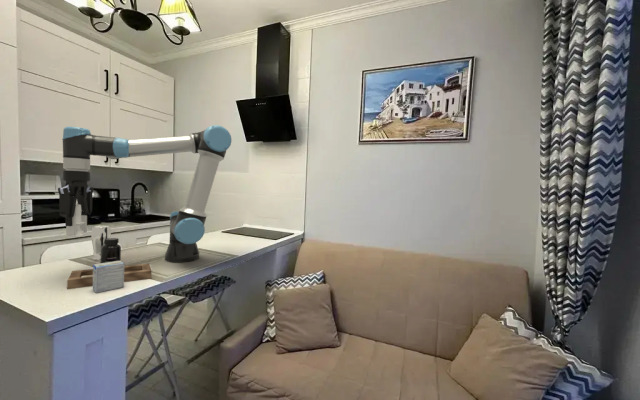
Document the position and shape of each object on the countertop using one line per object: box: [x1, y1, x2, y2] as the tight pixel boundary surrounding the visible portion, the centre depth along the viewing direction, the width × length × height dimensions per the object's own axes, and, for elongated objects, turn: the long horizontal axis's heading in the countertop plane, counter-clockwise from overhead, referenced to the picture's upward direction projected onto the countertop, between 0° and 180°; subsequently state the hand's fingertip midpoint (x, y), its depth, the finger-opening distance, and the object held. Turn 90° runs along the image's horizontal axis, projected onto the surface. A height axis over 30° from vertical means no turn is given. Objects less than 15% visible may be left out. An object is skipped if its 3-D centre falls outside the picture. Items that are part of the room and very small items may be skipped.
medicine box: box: [92, 261, 125, 294], centre depth 95 cm, size 8×4×9 cm, turn 141°
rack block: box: [66, 263, 152, 290], centre depth 104 cm, size 24×11×3 cm, turn 125°
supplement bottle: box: [99, 237, 122, 264], centre depth 117 cm, size 7×7×12 cm
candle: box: [66, 202, 87, 238], centre depth 103 cm, size 5×5×12 cm
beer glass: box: [90, 224, 112, 261], centre depth 128 cm, size 7×7×15 cm
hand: (76, 233), depth 103 cm, fingers closed on candle, 4 cm apart
